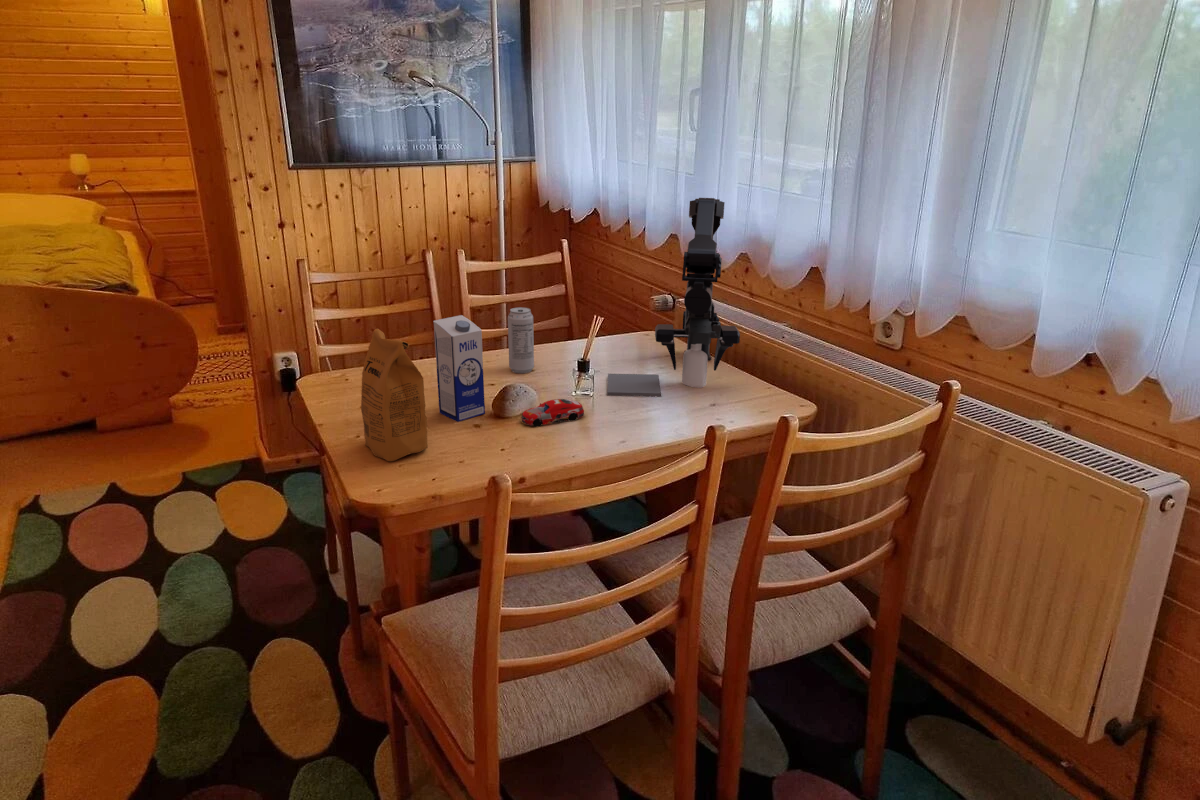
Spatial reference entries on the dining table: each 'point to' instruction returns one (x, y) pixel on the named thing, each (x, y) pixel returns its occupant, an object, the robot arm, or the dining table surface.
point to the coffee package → (392, 400)
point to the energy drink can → (521, 340)
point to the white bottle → (694, 367)
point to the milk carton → (459, 368)
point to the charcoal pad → (633, 385)
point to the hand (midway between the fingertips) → (694, 369)
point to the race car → (553, 412)
